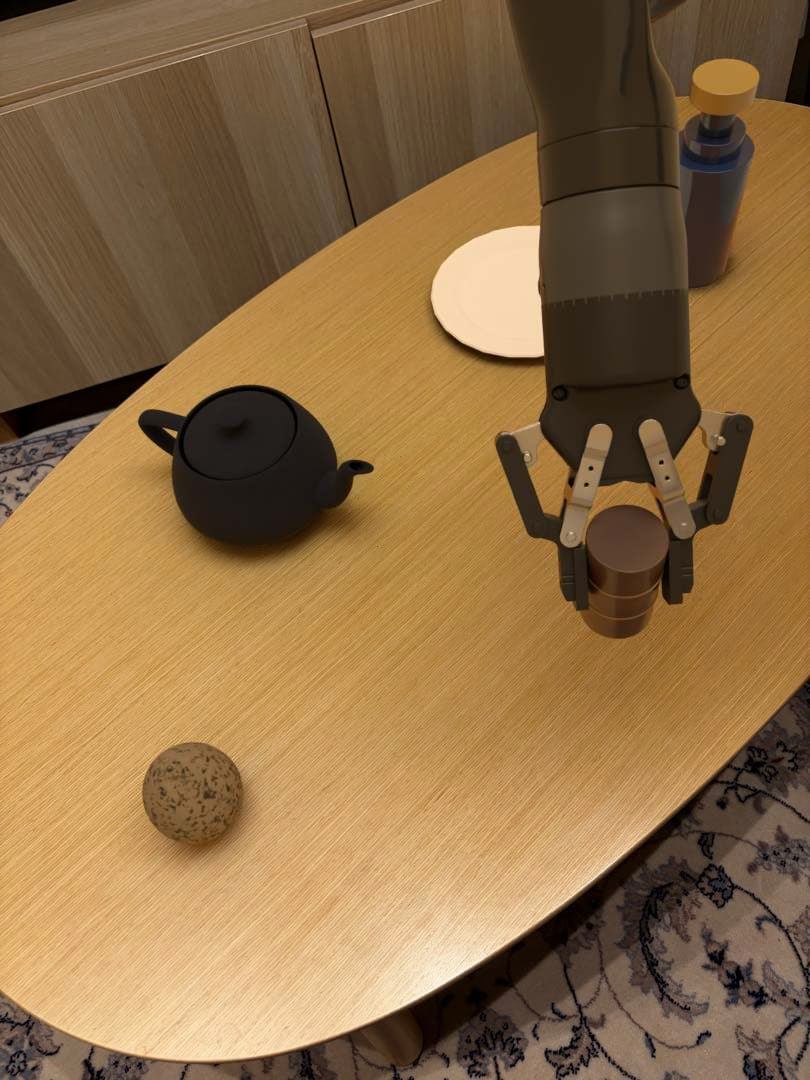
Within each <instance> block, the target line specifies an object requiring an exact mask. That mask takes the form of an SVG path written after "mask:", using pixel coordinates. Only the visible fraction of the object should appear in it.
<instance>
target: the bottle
mask: <svg viewBox="0 0 810 1080" xmlns="http://www.w3.org/2000/svg"><path fill="white" fill-rule="evenodd" d="M759 82H760V73H759V71H758V69H757V68H756V67H755V66H754V65H753V64H750V63H748V62H746V61H743V60H740V59H736V58H720V59H719V58H718V59H712V60H708V61H706V62H704V63H702V64H701V65H699V66H698V67H696V68H695V70H694V71H693V73H692V77H691V83H690V89H689V94H688V99H689V102H690V104H691V106H692V107H693V108H695V109H696V110H697V111H700V113H698V114H696V115H694V116H691V118H689V119H688V121H686V123H685V125H684V128H683V129H681V130H679V132H678V133H679V159H680V189H679V190H680V191H681V203H682V209H683V215H684V221H685V227H686V234H687V252H688V289H691V288H699V287H704V286H708V285H710V284H713V283H714V282H716V281H717V280H718V279H720V277H722V275H723V274H724V273H725V271H726V267H727V264H728V260H729V255H730V252H731V247H732V244H733V240H734V236H735V233H736V232H735V230H736V227H737V224H738V219H739V216H740V211H741V209H742V208H741V207H742V203H743V199H744V196H745V195H744V194H745V191H746V187H747V184H748V183H747V182H748V179H749V175H750V171H751V167H752V163H753V159H754V155H755V152H756V151H755V150H756V146H755V143H754V141H753V139H752V138H751V136H750V135H749V134H747V125H746V123H745V122H744V121H743V119H741V118H740V117H738V115H737V114H740V113H742V112H745V111H747V110H748V109H749V108H750V107H751V106H752V105H753V104H754V102H755V100H756V94H757V91H758V86H759Z"/></svg>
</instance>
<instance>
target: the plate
mask: <svg viewBox="0 0 810 1080" xmlns="http://www.w3.org/2000/svg"><path fill="white" fill-rule="evenodd" d="M539 235H540V225H517V226H511V227H505V228H500V229H495V230H492V231H490V232H487V233H484V234H482V235H479V236H477V237H474V238H472V239H471V240H469V241H467V242H466V243H463V245H461V246H460V247H458V248H456V249H455V250H454V251H453V252H452V253H451V254H450V255H449V256H448V257H447V258H446V259H445V260H444V261H443V262H442V263H441V264H440V266H439V268H438V270H437V272H436V274H435V276H434V278H433V280H432V286H431V292H430V300H431V304H432V309H433V313H434V316H435V318H436V319H437V320H438V323H440V325H441V327H442V328H443V330H444V331H445V332H446V333H448V334H449V335H450V336H451V337H453V338H454V339H455V340H456V341H458V342H459V343H460V344H462V345H464V346H467V348H468V347H469V348H470V349H473V350H475V351H478V352H480V353H482V354H486V355H490V356H495V357H499V358H505V359H539V358H544V345H543V328H542V312H541V298H540V295H539V292H538V280H539V257H538V250H539Z"/></svg>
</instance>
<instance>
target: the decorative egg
mask: <svg viewBox="0 0 810 1080" xmlns="http://www.w3.org/2000/svg"><path fill="white" fill-rule="evenodd" d="M142 781H143V782H142V789H141V796H142V804H143V808H144V812H145V813H146V815H147V817H148V819H149V821H150V822H151V824H152V825H153V826H154V828H155V829H156V830H157V831H158V832H159V833H161V834H162V835H163V836H165V837H167V838H168V839H169V840H170V839H171V840H173V841H174V842H177V843H181V844H189V845H191V844H193V845H194V844H195V845H197V844H203V843H207V842H209V841H212V840H215V839H217V838H218V837H219V836H221V835H222V834H224V833H225V832H226V831H228V830H229V828H230V827H231V826H232V825H233V824H234V822H235V821H236V819H237V817H238V816H239V813H240V811H241V809H242V804H243V801H244V785H243V784H244V783H243V778H242V776H241V773H240V771H239V769H238V767H237V765H236V763H234V761H233V760H232V759H231V758H230V756H229V755H228V754H226V752H224V751H222V750H221V749H220V748H218V747H215V746H213V745H211V744H208V743H206V742H205V743H204V742H197V741H195V742H194V741H190V742H189V741H188V742H183V743H179V744H174V745H172V746H170V747H168V748H166V749H164V750H163V751H162V752H161V753H160V754H158V755H157V756H156V757H155V758H154V760H152V761H151V763H150V765H149V767H148V768H147V770H146V772H145V774H144V778H143V780H142Z"/></svg>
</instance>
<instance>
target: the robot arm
mask: <svg viewBox="0 0 810 1080" xmlns="http://www.w3.org/2000/svg"><path fill="white" fill-rule="evenodd" d="M687 2H688V0H505V4H506V8H507V13H508V18H509V21H510V27H511V31H512V34H513V39H514V43H515V48H516V51H517V56H518V60H519V64H520V69H521V72H522V76H523V79H524V82H525V86H526V90H527V92H528V95H529V98H530V102H531V107H532V109H533V115H534V118H535V125H536V126H535V127H536V163H537V180H538V196H539V207H540V209H539V213H540V215H539V217H540V218H539V219H540V221H539V222H540V223H539V226H540V235H539V250H538V257H539V280H538V292H539V295H540V298H541V312H542V328H543V345H544V357H543V358H544V359H543V361H544V375H545V376H544V377H545V392H546V395H545V403H544V406H543V408H542V410H541V412H540V414H539V417H538V421H537V422H533V423H532V424H529V425H527V426H524V427H521V428H519V429H516V430H513V431H508V430H502V431H500V432H498V433H497V434H496V435H495V437H494V439H493V441H494V442H493V443H494V447H495V450H496V452H497V456H498V459H499V461H500V464H501V466H502V468H503V472H504V474H505V477H506V480H507V482H508V485H509V488H510V491H511V493H512V496H513V498H514V501H515V504H516V507H517V509H518V512H519V514H520V517H521V520H522V523H523V525H524V526H523V527H524V528H525V532H526V534H528V536H529V537H530V538H533V539H537V540H538V539H543V540H546V541H549V542H552V543H554V544H555V545H556V547H557V563H558V564H557V567H558V576H559V577H558V580H559V581H558V582H559V588H560V591H561V593H562V595H563V597H564V600H565V602H566V603H567V602H572V605H573V608H574V610H575V612H580V611H586V610H589V596H588V577H587V558H586V547H585V543H584V542H583V537H584V533H585V530H586V527H587V522H588V518H589V514H590V511H591V509H592V508H593V505H594V502H595V499H596V495H597V491H598V488H601V487H611V486H614V485H617V484H619V483H622V482H629V483H633V484H634V483H635V484H646V485H647V487H648V490H649V491H650V494H652V497H653V499H654V502H655V504H656V507H657V509H658V513H659V515H660V519H661V521H662V522H663V523H664V525H665V527H666V528H667V531H668V534H669V548H668V552H667V556H666V560H665V564H664V572H663V576H662V578H661V580H660V585H661V595H662V598H663V600H664V601H665V602H666V604H667V605H669V606H672V605H673V606H674V605H682V604H683V603H684V595H686V594H691V592H692V590H693V588H694V584H695V582H694V581H695V580H694V578H695V577H694V538H695V536H696V535H697V533H698V532H699V531H701V530H703V529H705V528H708V527H710V526H713V525H714V526H721V525H723V524H725V523H726V522H727V521H728V520H729V517H730V515H731V511H732V506H733V502H734V501H735V500H734V499H735V496H736V492H737V490H738V489H737V488H738V485H739V482H740V478H741V474H742V470H743V467H744V463H745V460H746V456H747V452H748V449H749V445H750V443H751V442H750V441H751V438H752V435H753V430H754V427H755V425H754V421H753V419H752V418H751V417H750V416H749V415H747V414H744V413H741V412H737V411H724V412H722V411H717V410H712V409H707V408H703V407H702V405H701V403H700V401H699V400H698V398H697V396H696V395H695V392H694V390H693V387H692V367H691V334H690V333H691V332H690V331H691V329H690V299H689V297H690V296H689V294H690V293H689V288H688V252H687V234H686V227H685V221H684V215H683V209H682V203H681V191H680V190H679V189H680V159H679V133H678V132H680V128H679V127H680V125H679V108H678V101H677V96H676V92H675V88H674V85H673V83H672V80H671V78H670V76H669V75H668V72H666V70H665V68H664V67H663V65H662V63H661V61H660V59H659V57H658V55H657V51H656V48H655V44H654V40H653V39H654V38H653V33H652V24H653V23H655V22H657V21H658V20H661V19H662V18H664V17H666V16H667V15H669V14H671V13H672V12H673V11H675V10H676V9H678V8H679V7H681V6H682V5H684V4H685V3H687ZM697 427H698V428H699V429H700V431H701V443H702V445H703V446H704V448H706V449H707V450H709V451H708V455H707V458H706V461H705V465H704V470H703V472H702V476H701V481H700V485H699V488H698V492H697V496H696V499H695V501H693V502H690V503H688V501H687V499H686V495H685V494H686V492H685V488H684V485H683V483H682V480H681V478H680V474H679V472H678V469H677V466H676V464H675V460H676V458H677V457H678V455H679V454H680V452H681V451H682V450H683V448H684V446H686V443H687V442H688V440H689V439H690V437H692V434H693V433H694V432H695V430H696V428H697ZM545 440H546V441H547V443H548V444H549V445H550V446H551V448H552V449H553V450H554V451H555V452H556V453H557V455H558V456H559V457H560V458H561V459H562V460H563V462H564V463H565V464H566V465H567V466H568V467H569V468H568V472H567V476H566V480H565V483H564V487H563V494H562V495H563V496H562V500H561V504H560V507H559V511H558V515H554V514H551V513H547V512H544V510H543V507H542V504H541V502H540V499H539V497H538V493H537V491H536V489H535V485H534V483H533V481H532V480H533V479H532V477H531V475H530V472H529V468H531V467H533V466H534V465H535V464H537V462H538V460H539V459H538V458H539V455H538V454H539V453H538V448H539V444H540V443H541V442H542V441H545Z"/></svg>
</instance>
